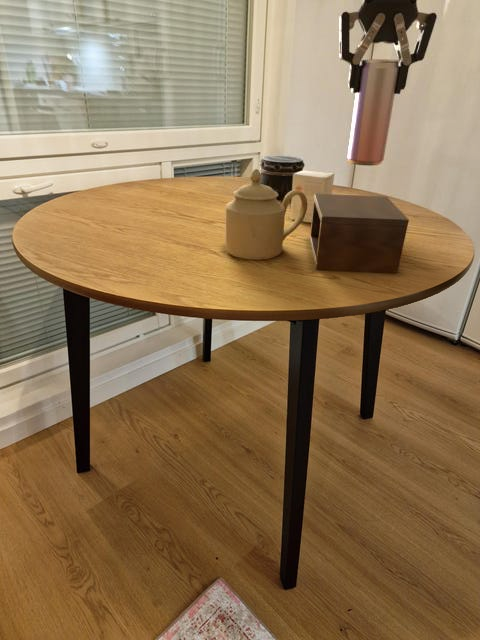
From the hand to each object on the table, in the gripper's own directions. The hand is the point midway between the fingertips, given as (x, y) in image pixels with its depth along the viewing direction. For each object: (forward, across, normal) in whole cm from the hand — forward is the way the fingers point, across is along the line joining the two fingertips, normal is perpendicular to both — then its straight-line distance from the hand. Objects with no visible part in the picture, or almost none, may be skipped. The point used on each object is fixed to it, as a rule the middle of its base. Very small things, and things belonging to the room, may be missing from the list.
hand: (375, 92), depth 67 cm
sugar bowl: (+27, -17, +2) cm, 32 cm away
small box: (+27, -6, +23) cm, 36 cm away
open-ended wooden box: (+27, 0, 0) cm, 27 cm away
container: (+27, -13, +47) cm, 56 cm away
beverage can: (+11, 0, 0) cm, 11 cm away
